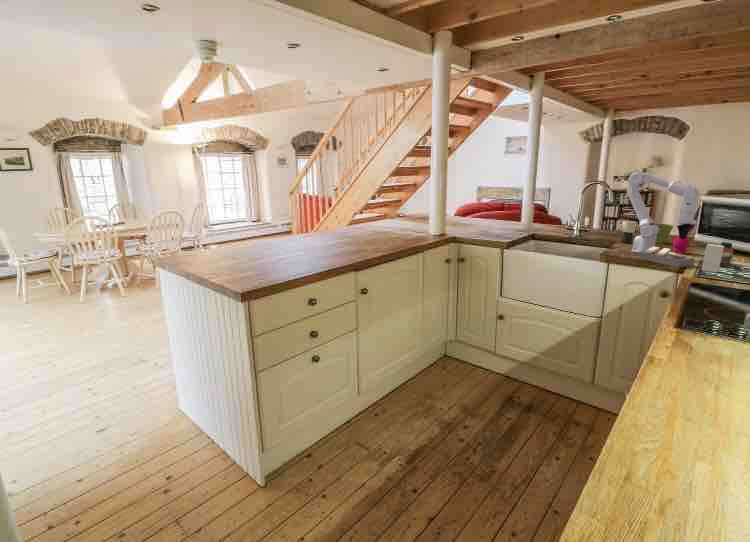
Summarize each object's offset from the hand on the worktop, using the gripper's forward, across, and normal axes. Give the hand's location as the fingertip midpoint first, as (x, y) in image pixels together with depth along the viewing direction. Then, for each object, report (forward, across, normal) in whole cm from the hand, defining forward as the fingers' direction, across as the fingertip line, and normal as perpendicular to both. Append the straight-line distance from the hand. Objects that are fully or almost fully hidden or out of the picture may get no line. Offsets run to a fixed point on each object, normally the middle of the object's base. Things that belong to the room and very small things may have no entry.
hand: (682, 238), depth 209 cm
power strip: (+10, -14, -2) cm, 18 cm away
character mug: (+10, +15, +38) cm, 43 cm away
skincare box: (+11, -12, -20) cm, 26 cm away
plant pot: (+10, +36, +32) cm, 49 cm away
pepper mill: (+10, +18, +10) cm, 23 cm away
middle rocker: (+5, -16, -2) cm, 17 cm away
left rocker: (+5, -16, +4) cm, 18 cm away
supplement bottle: (+11, +6, -16) cm, 21 cm away
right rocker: (+5, -16, -7) cm, 19 cm away
